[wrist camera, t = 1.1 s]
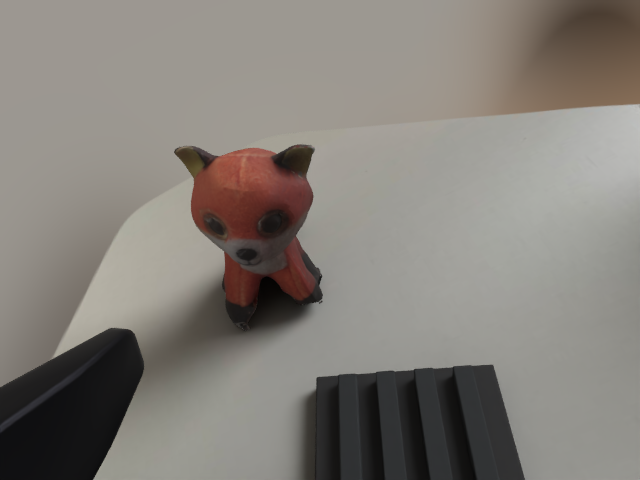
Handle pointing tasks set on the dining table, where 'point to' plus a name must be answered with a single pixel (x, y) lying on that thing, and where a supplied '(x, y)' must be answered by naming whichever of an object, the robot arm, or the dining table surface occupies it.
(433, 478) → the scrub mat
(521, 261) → the dining table surface
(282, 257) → the stuffed fox
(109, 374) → the robot arm
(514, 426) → the dining table surface
